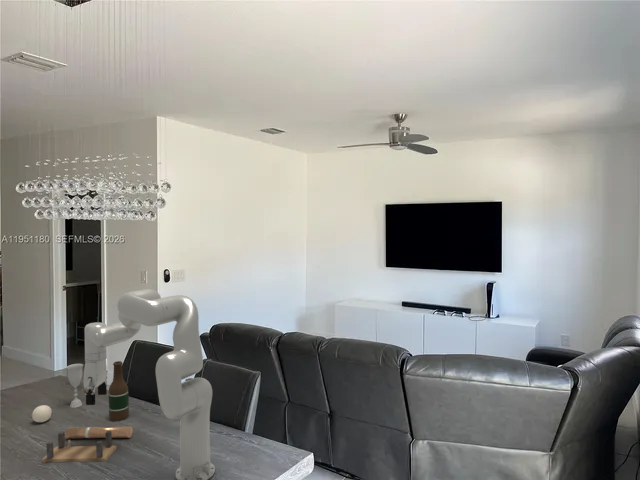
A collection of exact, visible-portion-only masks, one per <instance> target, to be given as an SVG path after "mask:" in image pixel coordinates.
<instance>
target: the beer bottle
mask: <svg viewBox="0 0 640 480" xmlns="http://www.w3.org/2000/svg"><path fill="white" fill-rule="evenodd" d="M112 365H113V377H112V382H111V383H110V384H109V387H108V418H109V420H110V421H111V422H120V421H124V420H126V419H127V418H129V416H130V415H129V414H130V413H129V412H130V409H129V407H130V406H129V405H130V402H129V401H130V400H129V398H130V397H129V387H128V384H127V382H126V381H125V380H124V373H123V371H124V370H123V361H121V360H119V361H114V362H113V364H112Z"/></svg>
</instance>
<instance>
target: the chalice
mask: <svg viewBox="0 0 640 480" xmlns="http://www.w3.org/2000/svg"><path fill="white" fill-rule="evenodd" d="M83 367H84V364H83V363H74V364H73V363H72V364H70V365H68V366H67V365H66V369H67V379H68V382H69V383H70V385H71V387H73V388H74V390H73V392H74V394H73V397H74V398H73V400H72V401H71V403H70V405H69V407H70V408H78V407H81V406H82V405H83V403H82V401H81V400H80V399H79V398H78V395H79V394H78V386H80V384H81V381H82V378H83V377H84V374H83Z"/></svg>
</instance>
